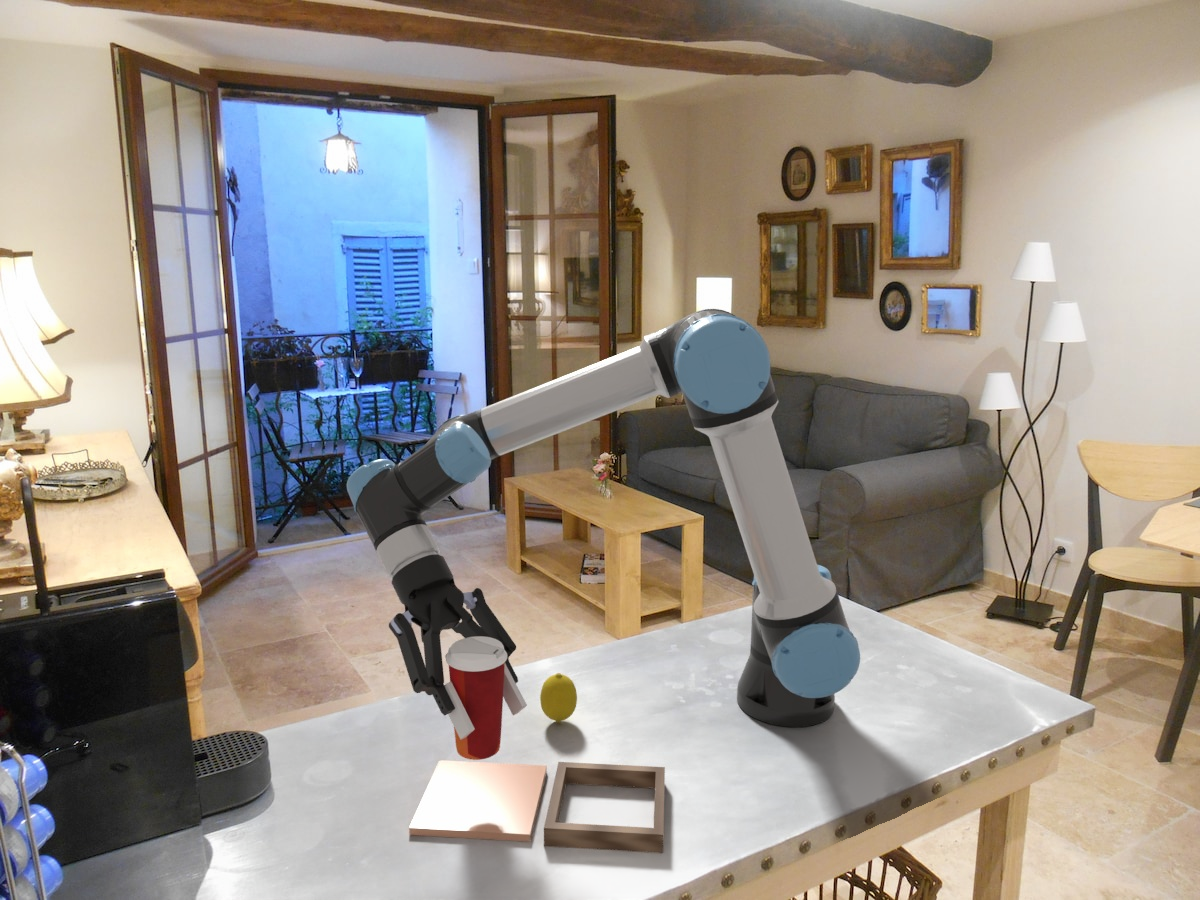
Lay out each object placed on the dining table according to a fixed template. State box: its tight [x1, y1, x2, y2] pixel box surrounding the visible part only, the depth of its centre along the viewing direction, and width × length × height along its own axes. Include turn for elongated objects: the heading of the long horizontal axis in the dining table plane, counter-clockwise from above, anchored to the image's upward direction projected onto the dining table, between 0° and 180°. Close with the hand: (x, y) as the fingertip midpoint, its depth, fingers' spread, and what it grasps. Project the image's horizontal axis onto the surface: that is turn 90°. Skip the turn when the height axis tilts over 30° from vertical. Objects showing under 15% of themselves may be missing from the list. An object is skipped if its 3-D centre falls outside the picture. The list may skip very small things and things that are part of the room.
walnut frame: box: [543, 761, 666, 854], centre depth 118 cm, size 14×14×2 cm
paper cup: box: [445, 636, 507, 761], centre depth 117 cm, size 8×8×14 cm
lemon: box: [539, 672, 578, 723], centre depth 139 cm, size 6×6×8 cm
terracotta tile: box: [408, 759, 548, 842], centre depth 120 cm, size 15×15×1 cm
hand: (494, 722), depth 115 cm, fingers closed on paper cup, 8 cm apart
